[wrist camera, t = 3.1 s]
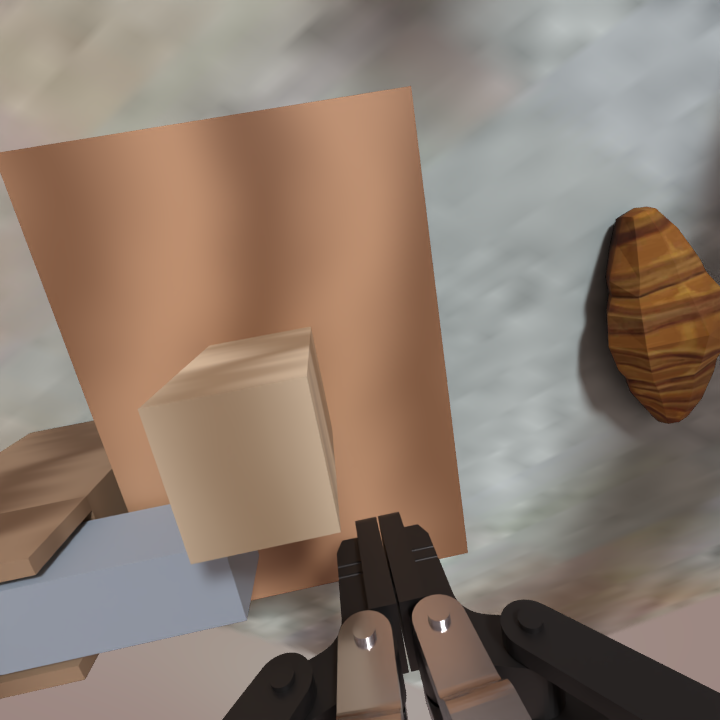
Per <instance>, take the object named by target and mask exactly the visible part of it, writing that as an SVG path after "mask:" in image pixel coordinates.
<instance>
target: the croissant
mask: <svg viewBox="0 0 720 720" xmlns="http://www.w3.org/2000/svg"><path fill="white" fill-rule="evenodd" d="M606 281H607V286H608V290H609V295H608V301H607V308H606V309H607V327H608V343H609V349H610V351H611V354H612V356H613V358H614V361H615V363H616V365H617V368H618V370H619V371H620V372H621V373H622V374H623V375H624V376H625V379H626V382H627V384H628V387H629V389H630V391H631V393H632V394H633V395H634V396H635V397H636V398H637V399H638V400H639V402H640V403H641V404H642V405H643V406H644V407H645V408H646V409H647V410H648V412H649V413H650V414H651V415H652V416H653V417H654V418H655V419H656V420H657V421H659V422H663V423H668V424H669V423H676V422H680V421H681V420H683V419H684V418H686V417H687V416H688V415H689V414H690V412H691V411H692V410H693V409H694V407H695V406H696V405H697V404H698V402H699V401H700V400H701V399H702V397H703V394H704V392H705V390H706V388H707V385H708V383H709V381H710V379H711V376H712V374H713V372H714V368H715V364H716V360H717V357H718V356H719V354H720V286H719V285H718V284H717V283H716V282H715V281H714V280H713V279H712V278H711V277H710V275H709V274H708V273H707V272H706V270H705V268H704V266H703V264H702V262H701V260H700V258H699V257H698V255H697V254H696V253H695V251H694V250H693V249H692V247H691V246H690V244H689V243H688V242H687V240H686V239H685V237H684V236H683V235H682V233H681V232H680V231H679V229H678V228H677V227H676V226H675V225H674V224H673V223H671V222H670V221H669V220H668V219H667V218H666V217H665V216H664V215H662V214H661V213H660V212H659V211H658V210H657V209H656V208H651V207H641V208H633V209H632V210H630V211H628V212H626V213H625V214H623V215H621V216H620V217H618V218H617V219H616V222H615V226H614V230H613V234H612V239H611V243H610V249H609V256H608V263H607V271H606Z"/></svg>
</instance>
